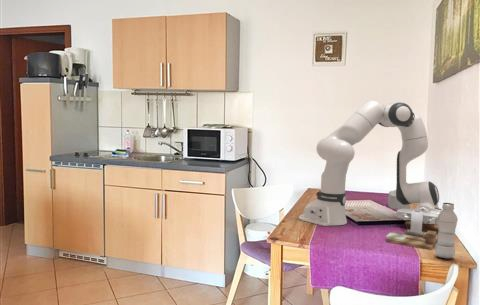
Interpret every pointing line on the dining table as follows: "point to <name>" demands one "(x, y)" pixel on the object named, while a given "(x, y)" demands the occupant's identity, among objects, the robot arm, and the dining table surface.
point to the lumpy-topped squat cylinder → (395, 201)
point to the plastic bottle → (446, 232)
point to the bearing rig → (414, 239)
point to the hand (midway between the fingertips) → (417, 220)
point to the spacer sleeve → (416, 221)
